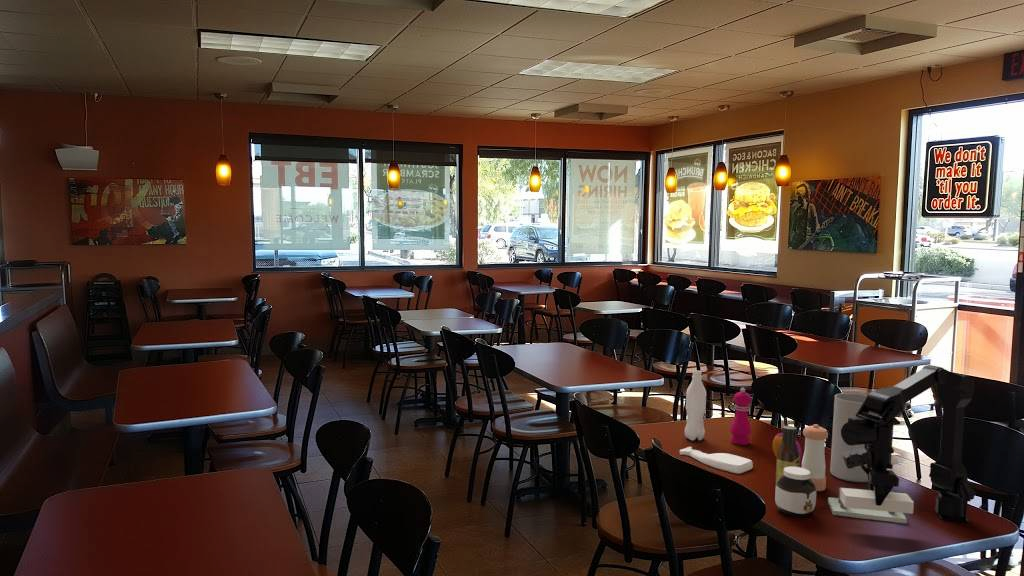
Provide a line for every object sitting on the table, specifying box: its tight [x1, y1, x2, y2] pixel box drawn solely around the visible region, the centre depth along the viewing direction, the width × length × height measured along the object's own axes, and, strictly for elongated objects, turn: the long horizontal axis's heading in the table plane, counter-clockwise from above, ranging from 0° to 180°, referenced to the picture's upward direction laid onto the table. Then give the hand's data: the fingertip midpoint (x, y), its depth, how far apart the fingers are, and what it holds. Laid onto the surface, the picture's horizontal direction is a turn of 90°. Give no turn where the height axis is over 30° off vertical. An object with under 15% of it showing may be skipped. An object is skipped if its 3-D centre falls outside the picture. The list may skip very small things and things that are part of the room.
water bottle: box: [684, 369, 707, 441], centre depth 265 cm, size 7×7×25 cm
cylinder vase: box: [829, 392, 879, 483], centre depth 228 cm, size 12×12×25 cm
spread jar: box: [774, 466, 817, 518], centre depth 202 cm, size 12×11×12 cm
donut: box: [772, 432, 802, 460], centre depth 240 cm, size 8×9×10 cm
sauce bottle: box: [775, 425, 801, 485], centre depth 212 cm, size 7×6×20 cm
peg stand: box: [827, 487, 907, 524], centre depth 201 cm, size 18×10×5 cm, turn 74°
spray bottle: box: [679, 446, 754, 475], centre depth 242 cm, size 3×11×24 cm
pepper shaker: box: [801, 423, 829, 492], centre depth 219 cm, size 7×7×19 cm
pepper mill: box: [729, 387, 752, 446], centre depth 262 cm, size 7×7×20 cm
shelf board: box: [840, 487, 915, 514], centre depth 189 cm, size 16×6×3 cm, turn 77°
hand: (875, 500), depth 189 cm, fingers closed on shelf board, 6 cm apart
